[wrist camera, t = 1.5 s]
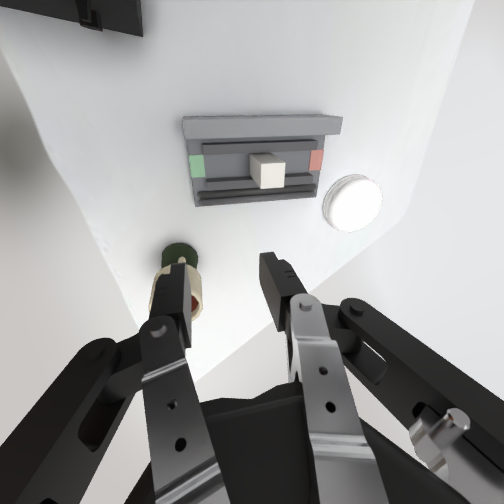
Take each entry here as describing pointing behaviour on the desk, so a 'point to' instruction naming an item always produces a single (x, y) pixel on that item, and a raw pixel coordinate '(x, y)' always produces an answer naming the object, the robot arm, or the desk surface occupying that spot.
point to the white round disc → (352, 203)
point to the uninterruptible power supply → (88, 12)
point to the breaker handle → (267, 170)
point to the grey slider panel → (255, 141)
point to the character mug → (188, 255)
